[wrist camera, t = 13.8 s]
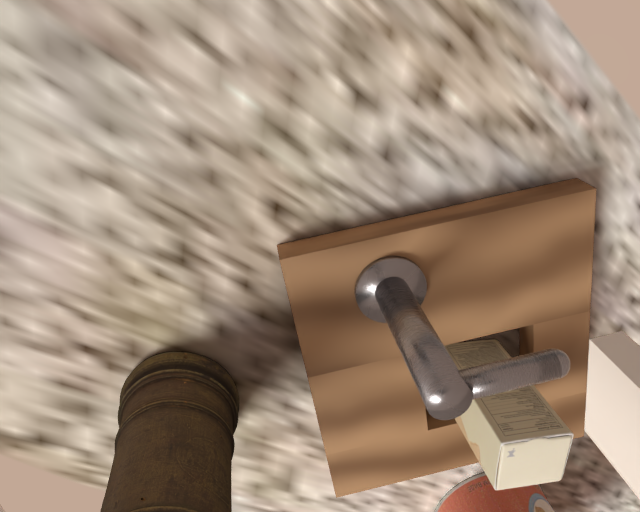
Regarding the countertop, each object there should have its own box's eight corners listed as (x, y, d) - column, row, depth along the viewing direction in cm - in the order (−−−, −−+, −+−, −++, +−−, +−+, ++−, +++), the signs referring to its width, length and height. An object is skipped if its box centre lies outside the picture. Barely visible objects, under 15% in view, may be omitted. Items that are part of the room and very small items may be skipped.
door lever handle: (349, 264, 37) (396, 374, 27) (481, 234, 38) (579, 330, 27) (359, 325, 40) (407, 448, 29) (484, 296, 40) (576, 407, 29)
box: (434, 385, 46) (489, 493, 36) (438, 343, 44) (498, 443, 34) (494, 379, 47) (564, 483, 37) (501, 337, 45) (576, 434, 35)
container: (143, 335, 40) (84, 563, 24) (257, 370, 43) (272, 596, 27) (105, 425, 43) (30, 682, 27) (214, 453, 46) (204, 700, 30)
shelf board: (277, 244, 39) (279, 259, 37) (576, 177, 40) (596, 188, 38) (331, 475, 49) (336, 497, 47) (568, 417, 50) (583, 436, 48)
